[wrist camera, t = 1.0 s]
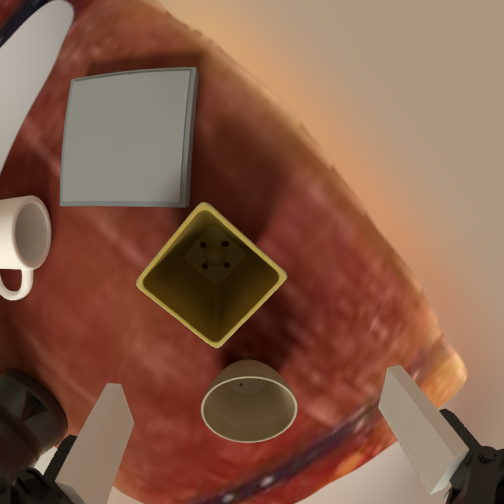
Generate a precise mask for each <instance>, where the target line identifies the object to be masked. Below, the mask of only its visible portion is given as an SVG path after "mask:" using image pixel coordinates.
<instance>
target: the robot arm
mask: <svg viewBox="0 0 504 504" xmlns="http://www.w3.org/2000/svg"><path fill="white" fill-rule="evenodd" d="M378 408H379V410H380V411H381V413H382V415H383V416H384V418H385V420H386V421H387V423H388V425H389V426H390V428H391V430H392V431H393V433H394V435H395V436H396V438H397V440H398V442H399V443H400V445H401V447H402V448H403V450H404V452H405V453H406V455H407V457H408V459H409V460H410V462H411V464H412V465H413V467H414V469H415V470H416V472H417V474H418V476H419V478H420V479H421V481H422V483H423V484H424V486H425V488H426V490H427V492H428V493H429V494H430V495H431V494H433V493H435V492H437V491H440V490H442V489H444V488H445V486H446V485H447V483H448V482H449V481H450V482H451V484H452V487H451V488H450V489H449V490H448V492H447V493H446V494H445V496H444V499H446V497H447V496H448V498H447V501H446V504H504V449H500V450H495V449H494V448H493V447H489V446H481V445H480V444H479V443H478V442H477V440H476V439H475V438H474V437H473V436H472V434H471V433H470V432H469V431H468V430H467V428H466V427H464V425H463V424H462V423H461V422H460V421H459V419H458V418H457V417H456V415H455V414H454V413H452V412H450V411H449V410H447V409H442V410H440V411H438V410H437V408H436V407H435V406H434V405H433V403H432V402H431V401H430V400H429V399H428V397H427V396H426V395H425V394H424V393H423V391H422V390H421V389H420V388H419V387H418V385H417V384H416V383H415V382H414V381H413V379H412V378H411V377H410V376H409V375H408V374H407V372H406V371H405V370H404V369H403V368H402V367H401V365H398V366H393V367H388V368H387V372H386V377H385V381H384V386H383V390H382V394H381V398H380V402H379V406H378ZM133 426H134V421H133V418H132V415H131V413H130V410H129V407H128V404H127V401H126V398H125V395H124V392H123V389H122V385H121V384H113V383H107V385H106V386H105V388H104V390H103V392H102V393H101V395H100V397H99V399H98V400H97V402H96V404H95V406H94V408H93V409H92V411H91V413H90V415H89V417H88V418H87V420H86V422H85V424H84V426H83V428H82V429H81V431H80V433H79V435H78V436H74V435H69V436H67V437H66V438H65V439H64V440H63V438H64V436H65V434H66V433H67V430H68V424H67V420H66V417H65V415H64V413H63V411H62V409H61V408H60V406H59V405H58V403H57V402H56V401H55V399H54V398H53V397H52V396H51V395H50V394H49V392H48V391H47V390H46V389H45V388H43V387H42V386H41V385H40V384H39V383H38V382H36V381H35V380H34V379H32V378H31V377H29V376H28V375H26V374H24V373H22V372H19V371H16V370H5V371H4V372H2V373H1V374H0V504H107V501H108V498H109V495H110V492H111V488H112V486H113V483H114V480H115V477H116V474H117V471H118V468H119V465H120V462H121V459H122V457H123V454H124V451H125V448H126V445H127V442H128V440H129V437H130V434H131V431H132V429H133ZM62 440H63V441H62ZM61 441H62V442H61ZM60 442H61V444H60V445H59V447H58V451H56V453H55V455H54V457H53V458H52V460H51V462H50V464H49V466H48V467H47V469H46V471H45V473H44V475H42V474H41V473H40V472H39V471H38V470H37V469H35V468H34V466H35V464H36V463H37V461H38V459H39V458H40V456H41V455H43V454H44V453H45V452H47V451H48V450H49V449H51V448H52V447H53V446H55V445H57V444H59V443H60Z"/></svg>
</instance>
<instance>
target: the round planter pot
mask: <svg viewBox="0 0 504 504" xmlns="http://www.w3.org/2000/svg"><path fill="white" fill-rule="evenodd" d="M241 384H243V385H242V386H241ZM201 413H202V417H203V420H204V422H205V423H206V425H207V426H208V427H209V428H210V429H211V430H212V431H213V432H214V433H216V434H217V435H219V436H221V437H223V438H226V439H228V440H232V441H236V442H244V443H251V442H260V441H265V440H268V439H271V438H273V437H276V436H278V435H279V434H281V433H282V432H284V431H285V430H286V429H287V428H288V427H290V425H291V424H292V423H293V421H294V419H295V417H296V414H297V402H296V399H295V396H294V394H293V392H292V390H291V389H290V387H289V386H288V384H287V383H286V381H285V380H284V379H283V378H282V377H281V376H280V375H279V374H278V373H277V372H276V371H275V370H274V369H272V368H271V367H269V366H268V365H266V364H264V363H262V362H259V361H256V360H251V359H245V360H240V361H237V362H234V363H232V364H230V365H229V366H227V367H226V368H225V369H223V370H222V371H221V372H220V373H219V374H218V375H217V376H216V377H215V379H214V380H213V381H212V383H211V384H210V386H209V388H208V390H207V391H206V394H205V396H204V398H203V401H202V405H201Z"/></svg>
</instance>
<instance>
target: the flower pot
mask: <svg viewBox="0 0 504 504" xmlns="http://www.w3.org/2000/svg"><path fill="white" fill-rule="evenodd" d="M223 241H227V242H228V245H227V246H223ZM202 242H205V243H206V247H204V248H203V247H201V243H202ZM226 262H228V263H229V267H225V266H224V263H226ZM204 263H205V264H207V265H208V267H207V268H203V267H202V265H203V264H204ZM286 278H287V274H286V272H285V271H284V270H283V269H282V268H281V267H280V266H279V265H278V264H276V263H275V262H274V261H273V260H272V259H271V258H270V257H269V256H268V255H266V254H265V253H264V252H263V251H262V250H261V249H260V248H258V247H257V246H256V245H255V244H254V243H253V242H252V241H251V240H249V239H248V238H247V237H246V236H245V235H244V234H243V233H242V232H241V231H239V230H238V229H237V228H236V227H235V226H234V225H233V224H232V223H230V222H229V221H228V220H227V219H226V218H225V217H224V216H223V215H221V214H220V213H219V212H218V211H217V210H216V209H215V208H214V207H213V206H212V205H210V204H209V203H206V202H202V203H200V204H199V205H198V206H197V207H196V208H195V209H194V210H193V212H192V213H191V214H190V215H189V216H188V217H187V219H186V220H185V221H184V222H183V223H182V225H181V226H180V227H179V228H178V230H177V231H176V232H175V233H174V234H173V236H172V237H171V238H170V239H169V240H168V242H167V243H166V244H165V245H164V247H163V248H162V249H161V250H160V252H159V253H158V254H157V255H156V256H155V258H154V259H153V260H152V261H151V263H150V264H149V265H148V266H147V267H146V269H145V270H144V271H143V272H142V274H141V275H140V276H139V278H138V279H137V282H136V285H137V287H138V288H139V289H140V290H141V291H143V292H144V293H145V294H146V295H147V296H149V297H150V298H151V299H152V300H154V301H155V302H156V303H158V304H159V305H160V306H161V307H163V308H164V309H165V310H167V311H168V312H169V313H170V314H172V315H173V316H174V317H175V318H177V319H178V320H179V321H180V322H182V323H183V324H184V325H185V326H187V327H188V328H189V329H190V330H191V331H193V332H194V333H195V334H196V335H198V336H199V337H200V338H201V339H203V340H204V341H205V342H206V343H208V344H209V345H211V346H213V347H215V348H219V347H220V346H221V345H223V344H224V343H225V342H226V341H227V339H228V338H229V337H230V336H231V335H232V334H234V332H235V331H236V330H237V329H238V328H239V327H240V326H241V325H242V324H243V323H244V322H245V321H246V320H247V319H248V318H249V317H250V316H251V315H252V314H253V313H254V312H255V311H256V310H257V309H258V308H259V307H260V306H261V305H262V304H263V303H264V302H265V301H266V300H267V299H268V298H269V297H270V296H271V295H272V294H273V293H274V292H275V291H276V290H277V289H278V288H279V287H280V286H281V285H282V283H283V282H284V281H285V280H286Z"/></svg>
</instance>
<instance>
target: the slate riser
mask: <svg viewBox="0 0 504 504" xmlns="http://www.w3.org/2000/svg"><path fill="white" fill-rule="evenodd" d="M198 83H199V74H198V71H197V68H196V67H179V68H158V69H144V70H133V71H124V72H115V73H108V74H101V75H94V76H88V77H82V78H77V79H72V81H71V86H70V92H69V98H68V104H67V111H66V118H65V126H64V135H63V146H62V158H61V177H60V206H146V207H182V208H185V207H188V206H189V205H190V184H191V166H192V151H193V137H194V125H195V113H196V103H197V93H198Z"/></svg>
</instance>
